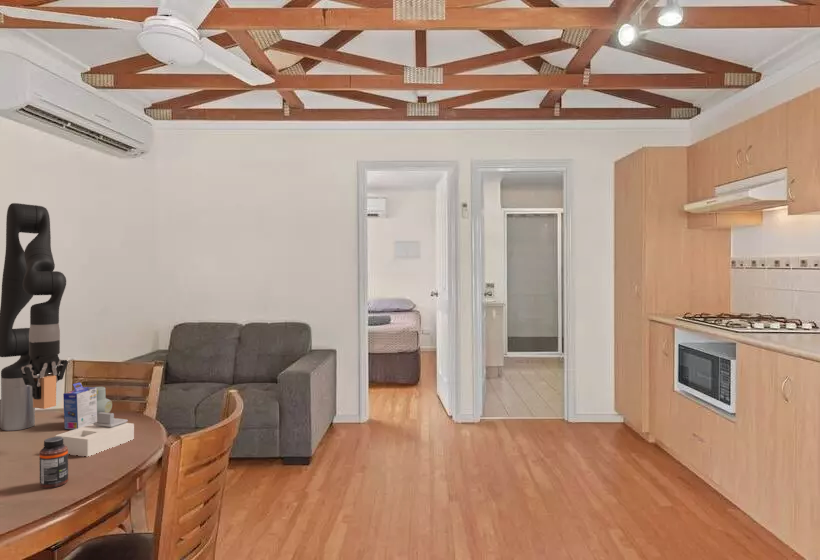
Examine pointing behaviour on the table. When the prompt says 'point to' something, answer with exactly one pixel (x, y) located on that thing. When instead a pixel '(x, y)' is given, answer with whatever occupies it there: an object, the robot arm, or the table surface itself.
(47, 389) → the plug
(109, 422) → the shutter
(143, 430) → the table surface
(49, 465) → the supplement bottle
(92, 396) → the ink cartridge box
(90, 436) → the socket
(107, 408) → the air freshener
